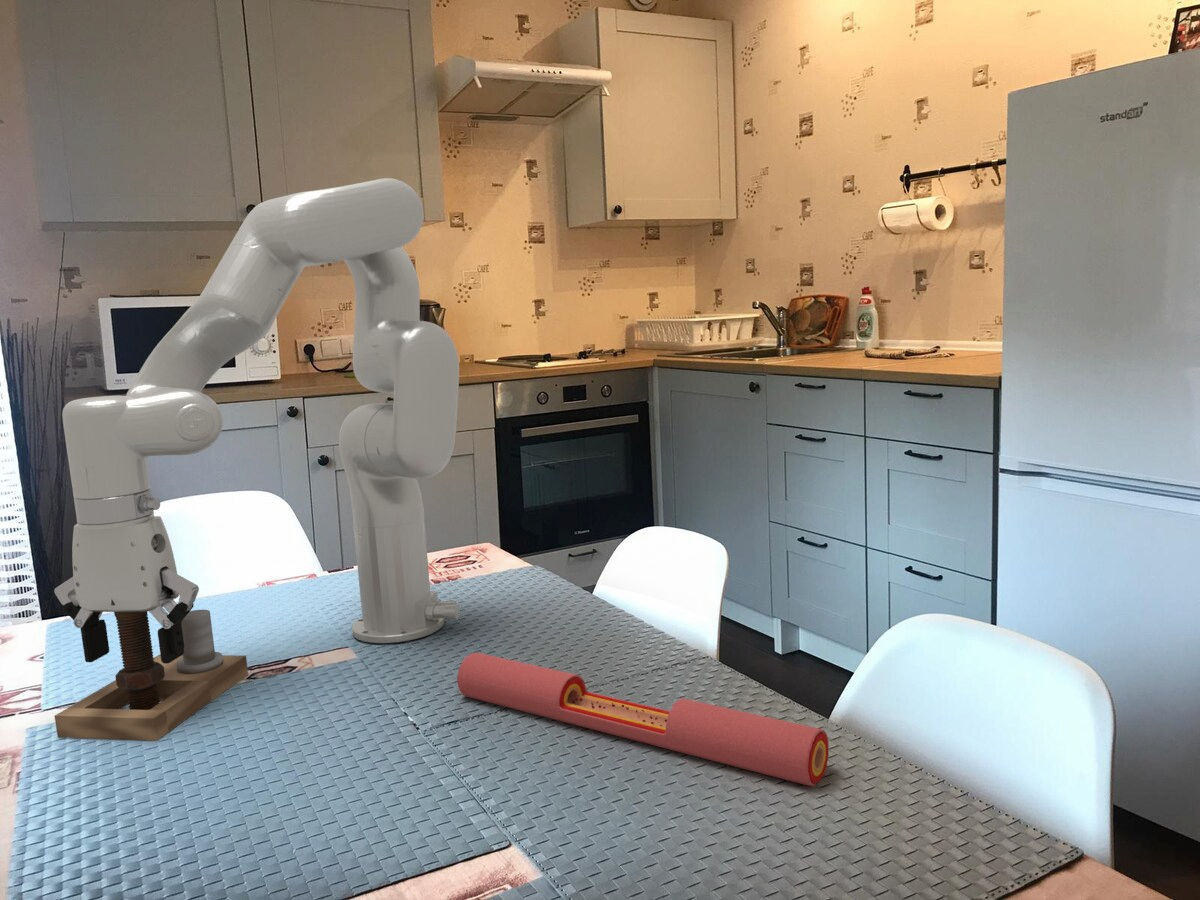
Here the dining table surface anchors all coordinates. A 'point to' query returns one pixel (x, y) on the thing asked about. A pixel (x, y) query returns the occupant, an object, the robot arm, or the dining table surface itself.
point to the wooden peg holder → (159, 691)
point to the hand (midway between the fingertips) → (135, 658)
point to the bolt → (137, 661)
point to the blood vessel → (652, 719)
